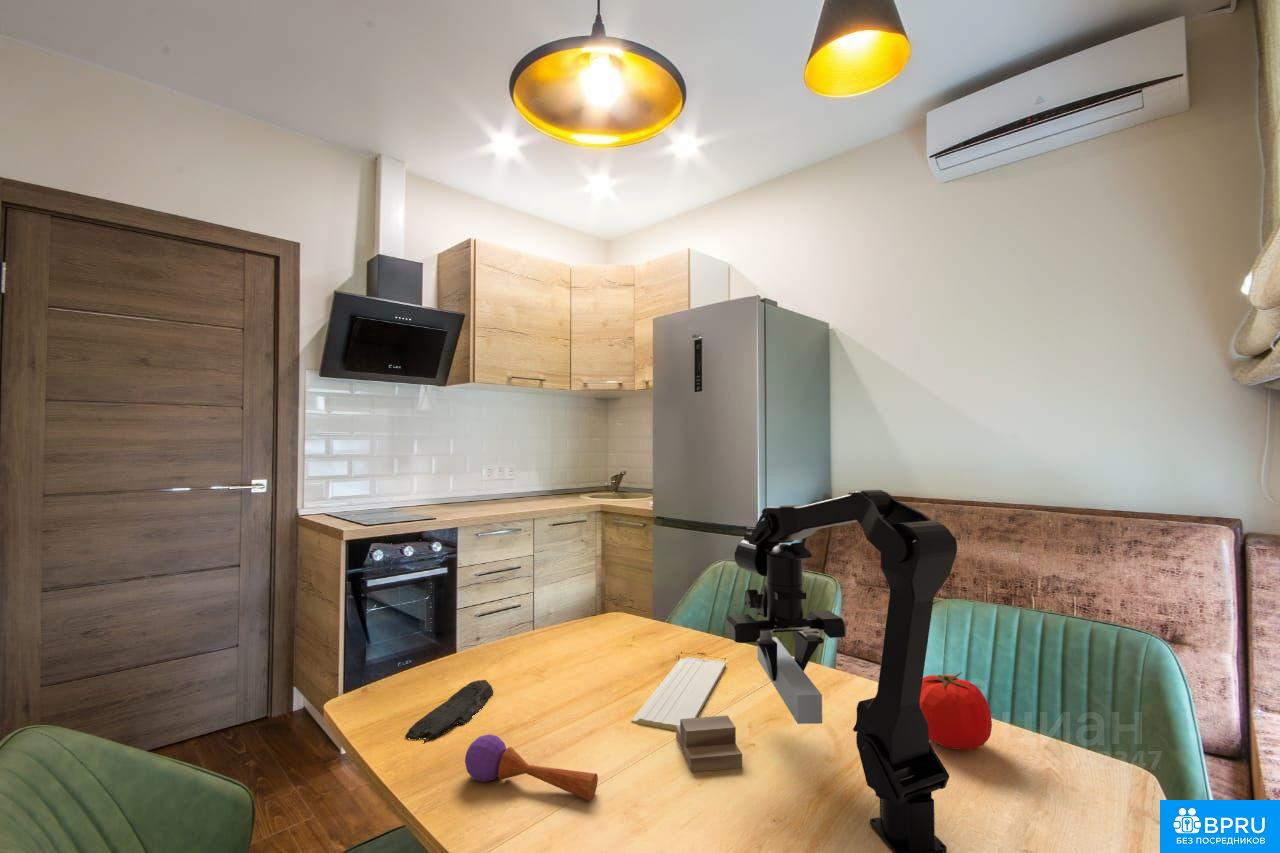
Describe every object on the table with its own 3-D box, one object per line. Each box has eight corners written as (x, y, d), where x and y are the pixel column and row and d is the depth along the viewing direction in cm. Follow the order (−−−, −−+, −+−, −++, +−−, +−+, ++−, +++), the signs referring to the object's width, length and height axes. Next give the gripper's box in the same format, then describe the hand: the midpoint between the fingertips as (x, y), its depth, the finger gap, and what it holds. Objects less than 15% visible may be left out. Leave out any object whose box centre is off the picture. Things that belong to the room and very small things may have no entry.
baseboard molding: (623, 724, 99) (688, 737, 95) (623, 707, 99) (689, 719, 95) (674, 661, 128) (726, 669, 124) (674, 648, 128) (726, 656, 124)
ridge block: (742, 767, 85) (742, 737, 85) (691, 772, 83) (691, 741, 84) (722, 734, 95) (722, 707, 95) (676, 737, 93) (676, 710, 93)
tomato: (994, 740, 93) (992, 672, 93) (991, 773, 83) (989, 697, 84) (915, 720, 100) (914, 656, 100) (904, 748, 90) (902, 678, 90)
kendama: (584, 784, 74) (456, 748, 80) (584, 823, 75) (457, 785, 81) (601, 753, 80) (479, 721, 85) (601, 789, 81) (481, 756, 86)
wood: (439, 749, 91) (439, 730, 91) (401, 742, 93) (401, 723, 93) (508, 692, 112) (509, 677, 112) (476, 687, 114) (476, 672, 114)
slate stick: (822, 723, 79) (821, 694, 79) (797, 723, 78) (797, 694, 79) (776, 659, 102) (776, 637, 103) (757, 659, 102) (757, 637, 103)
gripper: (814, 570, 101) (815, 657, 100) (715, 573, 98) (715, 663, 97) (847, 584, 90) (848, 683, 89) (736, 589, 87) (736, 691, 86)
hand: (785, 679), depth 91 cm, fingers closed on slate stick, 4 cm apart
